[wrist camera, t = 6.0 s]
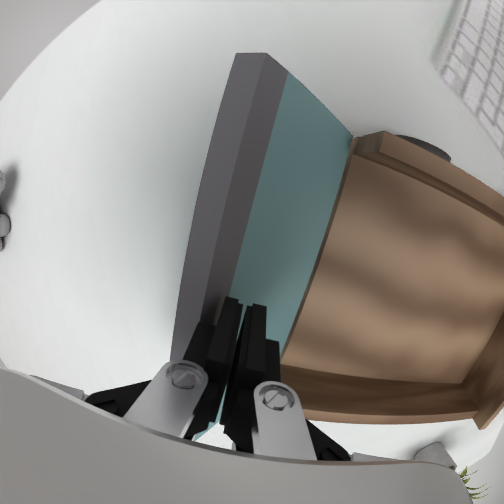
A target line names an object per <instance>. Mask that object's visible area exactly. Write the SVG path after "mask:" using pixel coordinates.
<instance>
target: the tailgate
mask: <svg viewBox="0 0 504 504" xmlns="http://www.w3.org/2000/svg"><path fill="white" fill-rule="evenodd" d="M352 138H353V136H352V135H351V134H350V132H349V131H348V130H347V129H346V128H345V127H344V126H343V125H342V124H341V122H340V121H339V120H338V119H337V118H336V117H335V116H334V115H333V114H332V113H331V112H330V111H329V110H328V109H327V108H326V107H325V106H324V105H323V104H322V103H321V102H320V101H319V100H318V99H317V98H316V97H315V96H314V95H313V94H312V93H311V92H310V91H309V90H308V89H307V88H306V87H305V86H304V85H303V84H302V83H301V82H299V81H298V80H297V79H296V78H295V77H294V76H293V75H292V74H291V73H290V72H288V71H287V70H286V69H285V68H284V67H283V66H282V65H280V64H279V63H278V62H277V61H276V60H275V59H273V58H272V57H271V56H270V55H268V54H267V53H236V55H235V59H234V62H233V65H232V68H231V71H230V75H229V78H228V81H227V85H226V88H225V91H224V95H223V98H222V102H221V105H220V109H219V112H218V116H217V120H216V123H215V127H214V131H213V135H212V138H211V142H210V146H209V150H208V154H207V158H206V162H205V167H204V171H203V175H202V179H201V184H200V188H199V193H198V197H197V202H196V206H195V211H194V216H193V221H192V226H191V231H190V236H189V241H188V246H187V251H186V257H185V262H184V268H183V274H182V279H181V285H180V292H179V298H178V304H177V311H176V318H175V325H174V332H173V339H172V347H171V355H170V361H173V360H182V359H183V357H184V354H185V352H186V350H187V347H188V345H189V342H190V340H191V338H192V335H193V333H194V331H195V328H196V326H197V324H198V322H202V323H206V324H210V325H213V326H216V325H217V322H218V319H219V316H220V313H221V309H222V306H223V303H224V300H225V297H226V296H228V297H231V298H235V299H239V302H238V303H240V304H243V309H242V315H241V320H240V325H239V331H238V335H239V332H240V328H241V325H242V321H243V318H244V314H245V311H246V307H247V305H248V306H252V305H253V303H255V304H259V305H263V306H267V316H266V339H271V340H275V341H279V346H280V355H281V352H282V350H283V347H284V345H285V342H286V340H287V337H288V335H289V332H290V329H291V327H292V324H293V322H294V319H295V316H296V314H297V311H298V309H299V306H300V303H301V300H302V298H303V295H304V292H305V289H306V287H307V284H308V281H309V278H310V275H311V273H312V270H313V267H314V264H315V261H316V258H317V255H318V252H319V249H320V246H321V243H322V240H323V237H324V234H325V231H326V228H327V225H328V222H329V218H330V215H331V212H332V209H333V206H334V202H335V199H336V196H337V192H338V189H339V185H340V182H341V178H342V175H343V171H344V168H345V164H346V161H347V157H348V153H349V150H350V146H351V142H352ZM237 339H238V336H237ZM226 386H227V385H226ZM225 391H226V388H225ZM225 391H224V395H223V398H222V401H221V405H220V408H219V411H218V415H217V418H216V421H215V423H212V422H209V426H208V429H207V430H205V431H203V432H200V433H198V434H196V435H195V439H194V441H195V440H197V439H198V438H199V437H201V436H202V435H203V434H204V433H206V432H207V431H208V430H209V429H210V428H212V427H213V426H214V425H215V424H216V423H218V422H219V421H220V417H221V412H222V407H223V401H224V396H225Z"/></svg>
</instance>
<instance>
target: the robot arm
mask: <svg viewBox="0 0 504 504" xmlns="http://www.w3.org/2000/svg"><path fill="white" fill-rule="evenodd" d="M238 302H239V299H235V298H231V297H228V296H226V297H225V300H224V303H223V306H222V309H221V313H220V316H219V319H218V322H217V325H216V326H213V325H210V324H206V323H202V322H198V324H197V326H196V328H195V331H194V333H193V335H192V338H191V340H190V342H189V345H188V347H187V350H186V352H185V354H184V357H183V359H182V360H173V361H170V362H168V363H166V364H165V365H164V366H163V367H162V368H161V369H160V371H159V372H158V373H157V374H156V376H155V377H154V378H153V380H149V381H145V382H141V383H137V384H133V385H128V386H124V387H119V388H115V389H110V390H105V391H100V392H96V393H93V394H91V395H86V394H84V391H83V390H79V389H76V388H72V387H69V386H65V385H62V384H59V383H55V382H52V381H49V380H46V379H43V378H40V377H37V376H33V375H27V374H24V373H21V372H19V371H16V370H12V369H8V368H4V367H0V504H473V502H472V499H471V497H470V495H469V492H468V490H467V488H466V486H465V484H464V483H463V481H462V479H461V478H460V476H459V475H458V474H457V473H456V472H455V471H454V470H453V469H451V468H449V467H447V466H444V465H442V464H438V463H433V462H428V461H418V460H398V459H390V458H383V457H377V456H371V455H365V454H360V453H355V452H354V453H353V454H352V455H349V454H348V452H347V451H346V450H345V449H344V448H343V447H341V446H340V445H339V444H337V443H336V442H335V441H334V440H332V439H331V438H330V437H328V436H327V435H326V434H324V433H323V432H322V431H321V430H319V429H318V428H317V427H316V426H314V425H313V424H312V423H311V422H309V421H308V420H307V419H306V418H305V417H304V413H303V410H302V407H301V403H300V400H299V397H298V395H297V393H296V392H295V391H294V390H293V389H292V388H290V387H289V386H287V385H285V384H283V383H281V373H280V346H279V341H275V340H271V339H266V316H267V306H263V305H259V304H255V303H253V305H252V306H248V305H247V307H246V311H245V314H244V318H243V321H242V325H241V328H240V332H239V335H238V331H239V325H240V320H241V315H242V309H243V304H240V303H238ZM237 336H238V339H237ZM226 385H227V386H226ZM225 388H226V391H225ZM224 391H225V396H224V401H223V407H222V412H221V417H220V423H219V424H221V425H225V427H224V434H227V435H228V436H229V438H230V439H231V440H232V441H233V443H232V450H229V449H225V448H220V447H215V446H211V445H207V444H202V443H198V442H194V439H195V435H196V434H198V433H200V432H203V431H205V430H207V429H208V426H209V422H212V423H215V421H216V418H217V415H218V411H219V408H220V405H221V401H222V398H223V395H224Z"/></svg>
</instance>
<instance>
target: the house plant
mask: <svg viewBox="0 0 504 504" xmlns="http://www.w3.org/2000/svg"><path fill="white" fill-rule="evenodd" d="M415 460H418V461H428V462H433V463H438V464H442V465H444V466H447V467H449V468H451V469H453V470H455V469H456V467H457V465H456V464H455V462H454V461H453V460H452V458H451V457H450V455H449V454H448V453H447V451H446V450H445V449H444V447H443V446H442V444H441V443H439V442H437V443H433V444H430V445H428V446H426V447H425V448H423V449H421V450H420V451H419V452H418V453H417V454H416V455H415ZM466 473H467V466H466V469H465V470H464V471H463V473H462V474H461V475H459V476H460V478H462V477H464V476H467V475H466ZM469 479H470V478H469ZM469 479H466V480H463V479H462V481H463V483H464V484H466V483H467V482H468V480H469ZM466 488H467V489H470V490H475V489H478V488H469V487H466ZM486 490H487V489H486ZM477 494H480V493H475V494H471V493H469V495H470V497H471V498H472V499H477V498H480V497H472V496H473V495H477ZM483 497H484V496H483Z"/></svg>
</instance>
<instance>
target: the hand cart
mask: <svg viewBox="0 0 504 504" xmlns="http://www.w3.org/2000/svg"><path fill="white" fill-rule="evenodd" d="M450 160H451V158H450V156H449V155H448V154H447V153H446V152H444V151H443V150H441V149H439V148H438V147H436V146H434V145H432V144H429V143H427V142H424V141H422V140H419V139H416V138H412V137H408V136H403V135H393V134H391V133H388V132H386V131H382V132H378V133H374V134H370V135H366V136H362V137H358V138H354V139H352V142H351V146H350V150H349V153H348V157H347V161H346V164H345V168H344V171H343V175H342V178H341V182H340V185H339V189H338V192H337V196H336V199H335V202H334V206H333V209H332V212H331V215H330V218H329V222H328V225H327V228H326V231H325V234H324V237H323V240H322V243H321V246H320V249H319V252H318V255H317V258H316V261H315V264H314V267H313V270H312V273H311V275H310V278H309V281H308V284H307V287H306V289H305V292H304V295H303V298H302V300H301V303H300V306H299V309H298V311H297V314H296V316H295V319H294V322H293V324H292V327H291V329H290V332H289V335H288V337H287V340H286V342H285V345H284V347H283V350H282V352H281V355H280V373H281V383H283V384H285V385H287V386H289V387H290V388H292V389H293V390H294V391H295V392H296V393H297V395H298V397H299V400H300V403H301V407H302V410H303V413H304V417H305V418H306V419H307V420H315V421H325V422H337V423H352V424H421V423H435V422H446V421H456V420H464V419H471V418H473V420H474V422H475V423H476V425H477V427H478V429H479V430H482V429H485V428H486V427H487V426H488V425H489V424H490V423H491V421H492V420H493V419H494V418H495V417H496V415H497V414H498V413H499V412H500V411H501V409H502V408H503V407H504V197H503V196H501V195H500V194H499V193H497V192H496V191H494V190H493V189H491V188H490V187H488V186H487V185H485V184H484V183H482V182H481V181H479V180H478V179H476V178H474V177H473V176H471V175H470V174H468V173H466V172H465V171H463V170H461V169H460V168H458V167H456V166H454V165H453V164H451V163H450Z"/></svg>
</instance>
